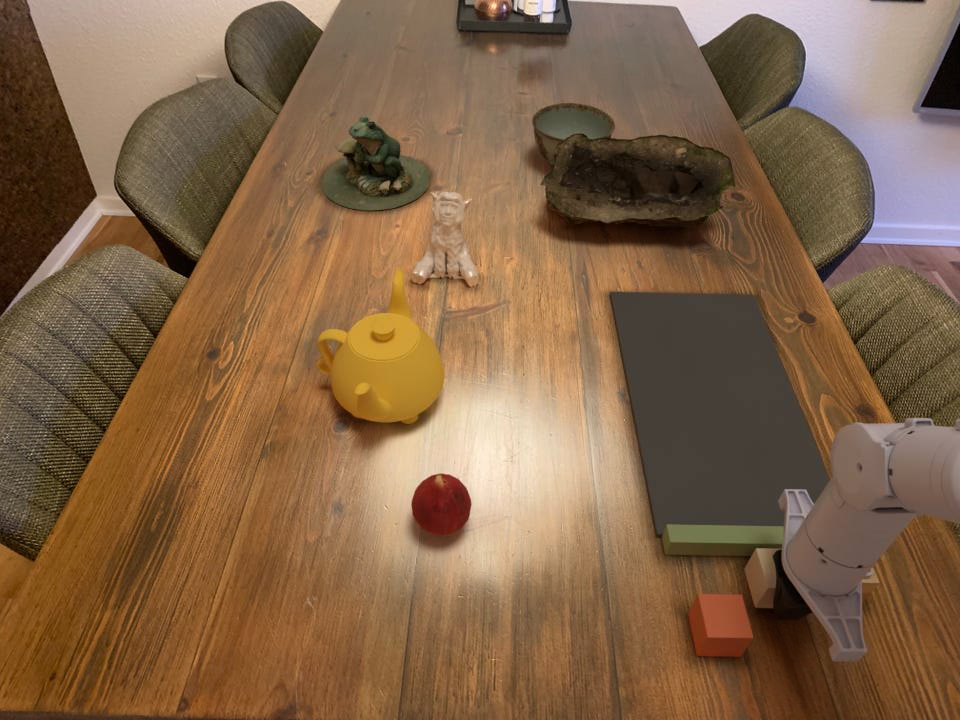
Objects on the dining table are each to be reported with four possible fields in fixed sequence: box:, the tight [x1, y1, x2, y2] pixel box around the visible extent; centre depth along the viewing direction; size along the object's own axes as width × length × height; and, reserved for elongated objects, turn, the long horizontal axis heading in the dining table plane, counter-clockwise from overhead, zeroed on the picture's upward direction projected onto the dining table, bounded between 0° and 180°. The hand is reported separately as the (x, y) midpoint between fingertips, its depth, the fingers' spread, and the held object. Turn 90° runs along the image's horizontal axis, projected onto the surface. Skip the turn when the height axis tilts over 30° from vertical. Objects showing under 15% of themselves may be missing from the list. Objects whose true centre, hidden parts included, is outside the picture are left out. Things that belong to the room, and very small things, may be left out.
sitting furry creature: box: [410, 191, 480, 288], centre depth 98 cm, size 10×9×12 cm
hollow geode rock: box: [539, 133, 737, 229], centre depth 108 cm, size 28×13×15 cm
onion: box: [410, 473, 472, 537], centre depth 69 cm, size 6×6×8 cm
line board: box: [609, 291, 831, 557], centre depth 84 cm, size 40×20×2 cm, turn 0°
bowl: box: [531, 102, 616, 168], centre depth 120 cm, size 14×13×8 cm
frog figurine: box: [320, 115, 431, 211], centre depth 114 cm, size 18×18×12 cm
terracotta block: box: [687, 593, 755, 658], centre depth 63 cm, size 4×4×4 cm
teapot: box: [316, 268, 445, 425], centre depth 80 cm, size 20×15×12 cm
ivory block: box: [743, 548, 781, 609], centre depth 67 cm, size 4×4×4 cm
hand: (785, 613), depth 65 cm, fingers closed
